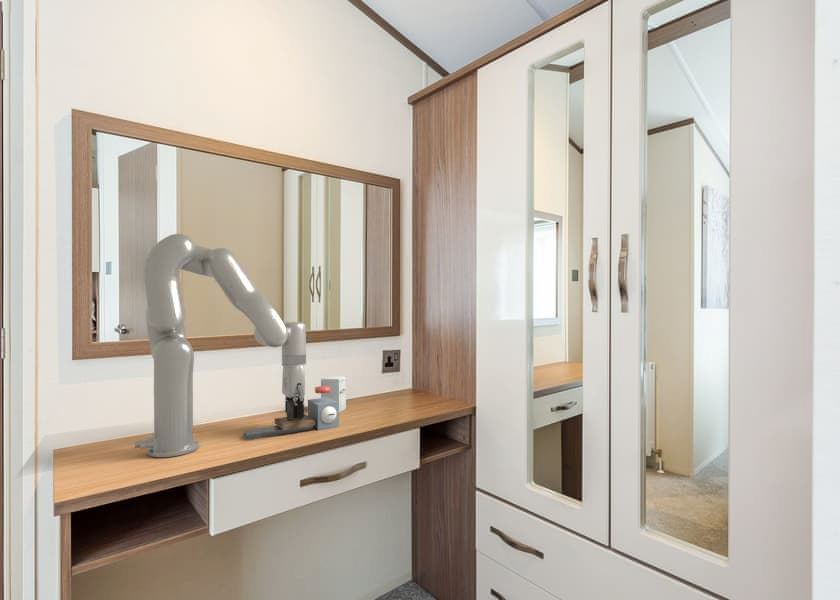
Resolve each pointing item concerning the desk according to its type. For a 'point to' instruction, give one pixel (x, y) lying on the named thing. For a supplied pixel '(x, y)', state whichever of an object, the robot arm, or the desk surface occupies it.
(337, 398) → the supplement box
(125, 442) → the desk surface
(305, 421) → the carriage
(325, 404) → the gauge cabinet
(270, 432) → the track
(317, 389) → the button
